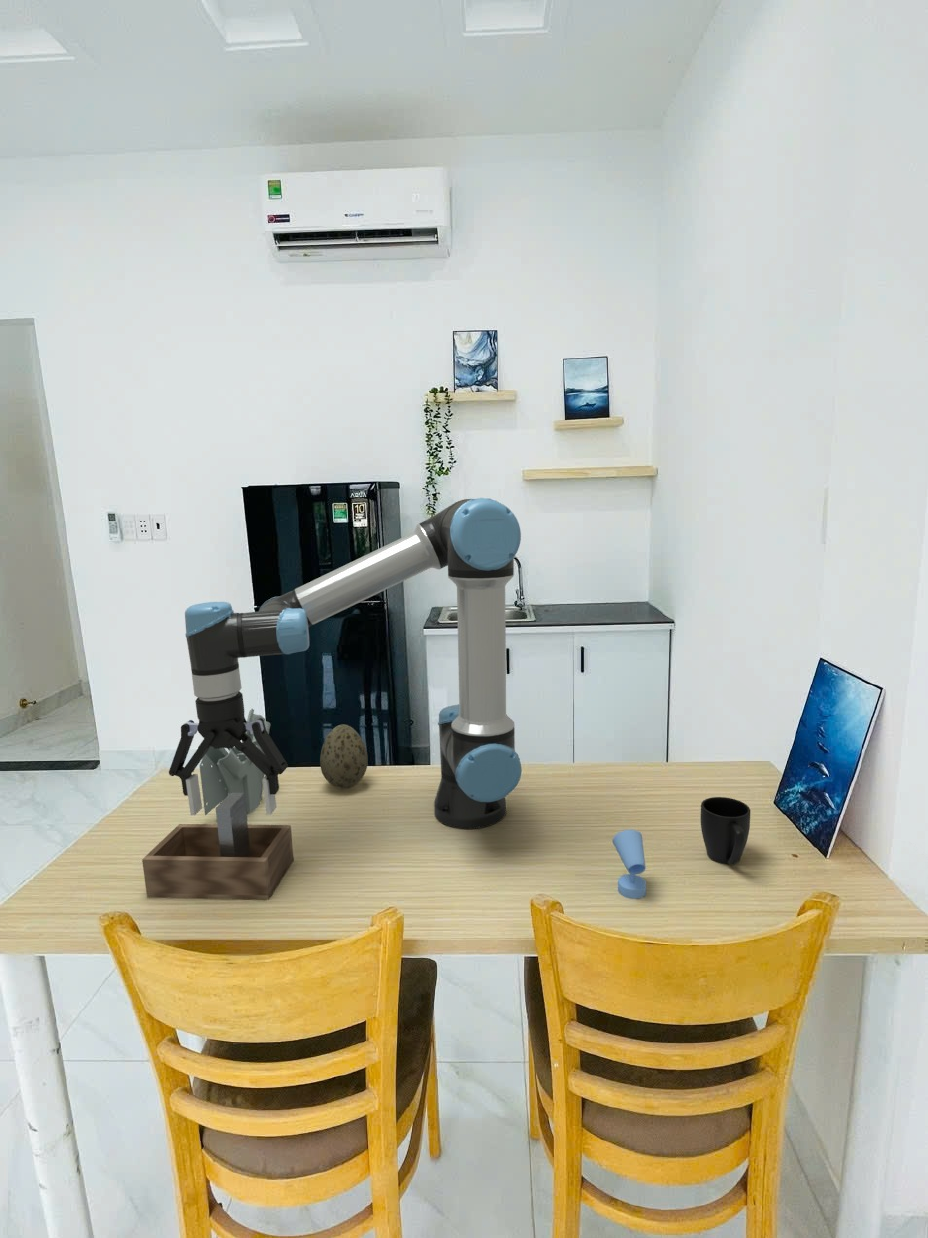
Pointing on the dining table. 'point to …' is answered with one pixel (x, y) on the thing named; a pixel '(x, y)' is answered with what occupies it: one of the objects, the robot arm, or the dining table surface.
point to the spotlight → (631, 863)
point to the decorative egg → (343, 757)
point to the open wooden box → (217, 864)
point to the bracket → (231, 774)
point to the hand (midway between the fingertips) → (233, 811)
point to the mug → (725, 828)
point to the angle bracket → (233, 826)
